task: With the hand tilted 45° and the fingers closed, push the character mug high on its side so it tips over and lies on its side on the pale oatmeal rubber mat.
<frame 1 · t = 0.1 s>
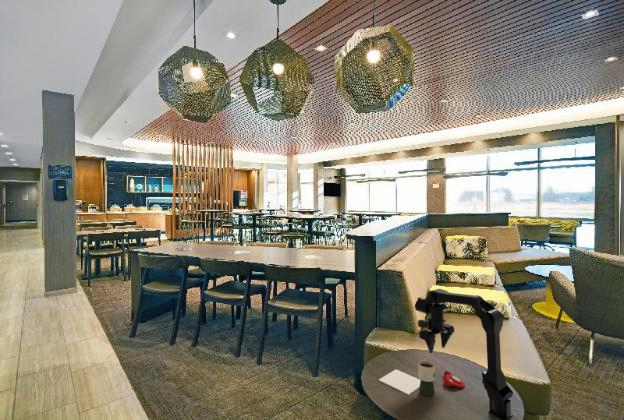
hand: (437, 350, 150), 15 cm above the table, tool pointing down, fingers open, 9 cm apart
oatmeal mat: (402, 381, 151), on the table
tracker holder: (452, 383, 150), on the table
character mug: (426, 393, 141), on the table
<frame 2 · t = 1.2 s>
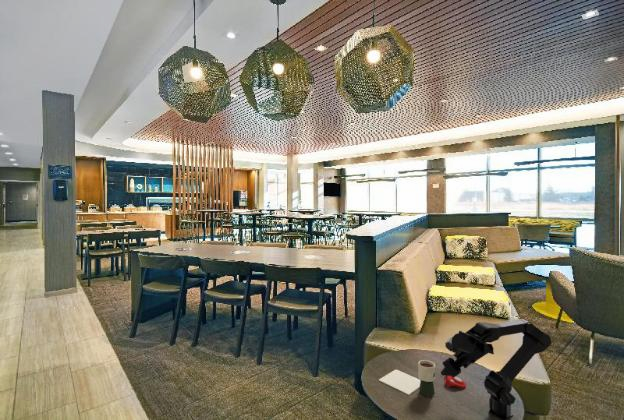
hand: (446, 370, 135), 13 cm above the table, tool tilted 45°, fingers open, 9 cm apart
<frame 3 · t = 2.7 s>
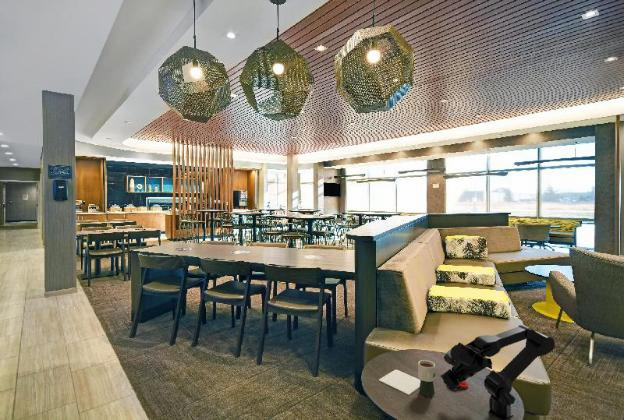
hand: (444, 382, 135), 8 cm above the table, tool tilted 45°, fingers closed
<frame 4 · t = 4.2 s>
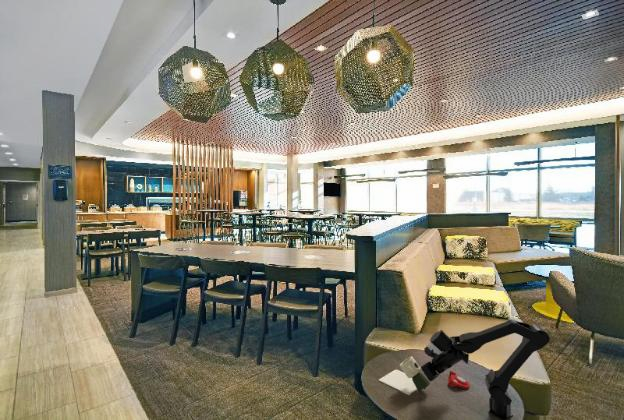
hand: (425, 374, 142), 8 cm above the table, tool tilted 45°, fingers closed
character mug: (425, 388, 142), point 2 cm above the table
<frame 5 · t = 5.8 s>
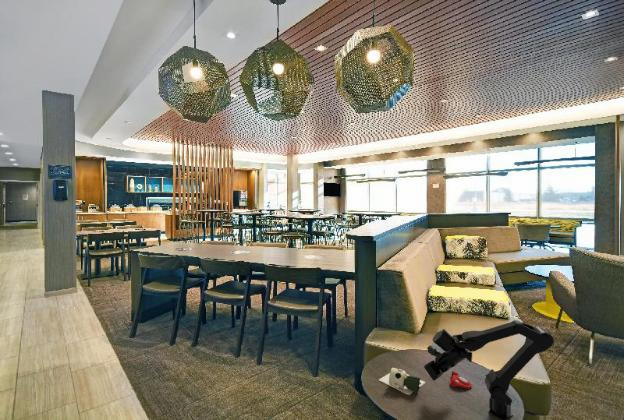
hand: (428, 373, 141), 9 cm above the table, tool tilted 45°, fingers closed
character mug: (420, 386, 141), point 3 cm above the table, touching oatmeal mat
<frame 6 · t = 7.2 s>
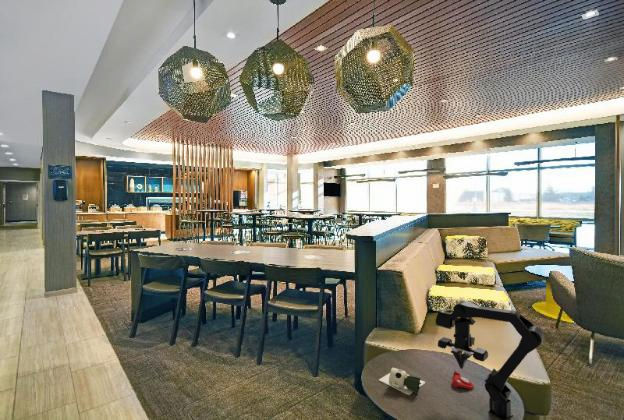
hand: (461, 368, 137), 13 cm above the table, tool pointing down, fingers closed
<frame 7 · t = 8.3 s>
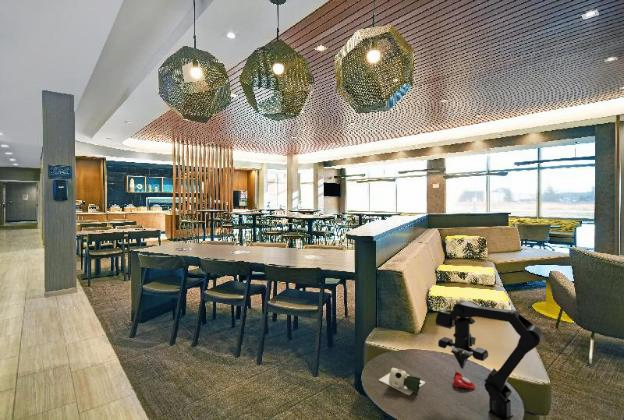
hand: (462, 368, 137), 13 cm above the table, tool pointing down, fingers closed
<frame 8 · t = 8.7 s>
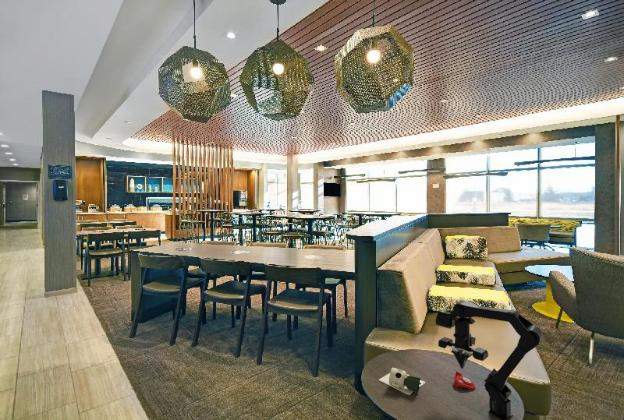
hand: (462, 368, 137), 13 cm above the table, tool pointing down, fingers closed
at the end: character mug tilted 84°; character mug touching oatmeal mat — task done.
